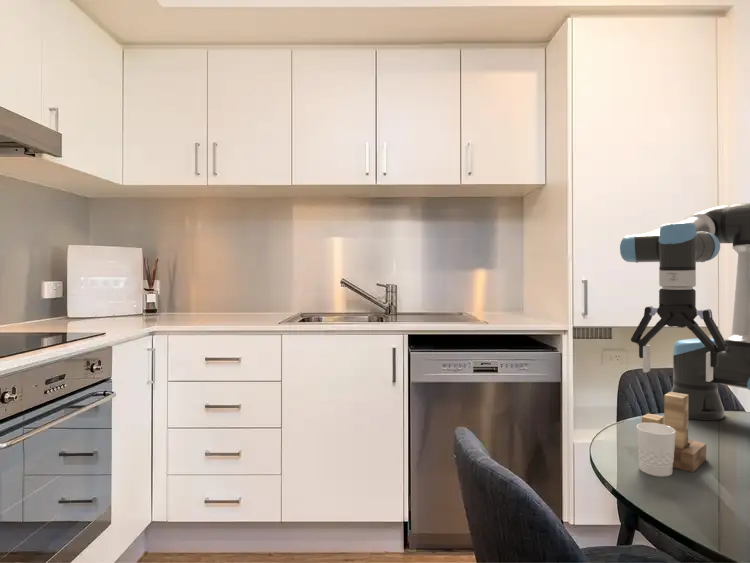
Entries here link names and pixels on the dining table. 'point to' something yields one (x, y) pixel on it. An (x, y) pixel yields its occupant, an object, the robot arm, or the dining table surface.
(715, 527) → the dining table surface
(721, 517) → the dining table surface
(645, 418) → the short oak peg
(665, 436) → the white cup
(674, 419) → the long oak peg
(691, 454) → the walnut hole block
